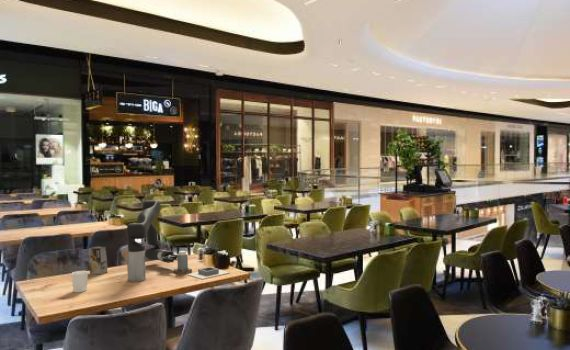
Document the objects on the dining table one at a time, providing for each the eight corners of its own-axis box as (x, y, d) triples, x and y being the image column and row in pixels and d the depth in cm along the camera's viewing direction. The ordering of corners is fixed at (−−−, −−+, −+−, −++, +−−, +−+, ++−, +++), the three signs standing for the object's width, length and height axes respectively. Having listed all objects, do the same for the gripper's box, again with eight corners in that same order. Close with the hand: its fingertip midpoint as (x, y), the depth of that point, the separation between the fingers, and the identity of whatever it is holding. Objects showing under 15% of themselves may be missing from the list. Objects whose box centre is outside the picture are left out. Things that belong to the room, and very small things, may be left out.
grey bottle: (181, 273, 287) (181, 252, 287) (177, 272, 290) (177, 251, 290) (188, 272, 290) (187, 251, 290) (184, 271, 293) (183, 250, 293)
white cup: (83, 288, 258) (82, 269, 258) (90, 290, 253) (90, 271, 253) (69, 291, 252) (68, 272, 252) (76, 293, 247) (75, 274, 247)
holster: (180, 274, 285) (180, 271, 284) (173, 272, 290) (173, 269, 290) (191, 272, 290) (191, 269, 290) (184, 270, 296) (184, 267, 296)
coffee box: (108, 272, 296) (107, 246, 295) (101, 274, 290) (100, 248, 289) (95, 271, 298) (95, 246, 298) (89, 273, 292) (88, 248, 292)
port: (202, 279, 272) (202, 274, 271) (187, 275, 283) (187, 270, 283) (229, 273, 285) (229, 268, 285) (214, 269, 297) (214, 264, 297)
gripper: (155, 252, 299) (168, 255, 288) (175, 248, 309) (188, 251, 298) (156, 263, 299) (169, 267, 288) (175, 260, 309) (189, 263, 298)
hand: (179, 259), depth 293 cm, fingers open, 8 cm apart
